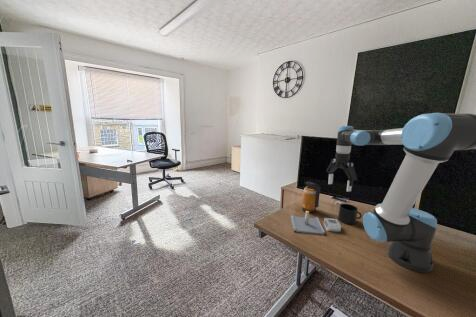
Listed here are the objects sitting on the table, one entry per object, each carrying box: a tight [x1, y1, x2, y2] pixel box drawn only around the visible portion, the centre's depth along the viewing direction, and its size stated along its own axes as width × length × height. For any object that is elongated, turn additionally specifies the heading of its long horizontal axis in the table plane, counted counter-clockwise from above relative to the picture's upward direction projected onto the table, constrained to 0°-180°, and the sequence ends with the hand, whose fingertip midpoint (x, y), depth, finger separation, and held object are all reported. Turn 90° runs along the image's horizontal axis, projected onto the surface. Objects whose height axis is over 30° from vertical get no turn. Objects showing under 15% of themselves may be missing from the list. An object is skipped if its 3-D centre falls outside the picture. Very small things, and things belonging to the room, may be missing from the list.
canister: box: [301, 181, 322, 213], centre depth 128 cm, size 9×11×20 cm
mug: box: [337, 203, 363, 225], centre depth 116 cm, size 9×12×9 cm
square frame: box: [323, 217, 342, 233], centre depth 109 cm, size 7×7×4 cm
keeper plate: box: [290, 211, 326, 236], centre depth 111 cm, size 16×16×9 cm
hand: (339, 187), depth 116 cm, fingers open, 13 cm apart
